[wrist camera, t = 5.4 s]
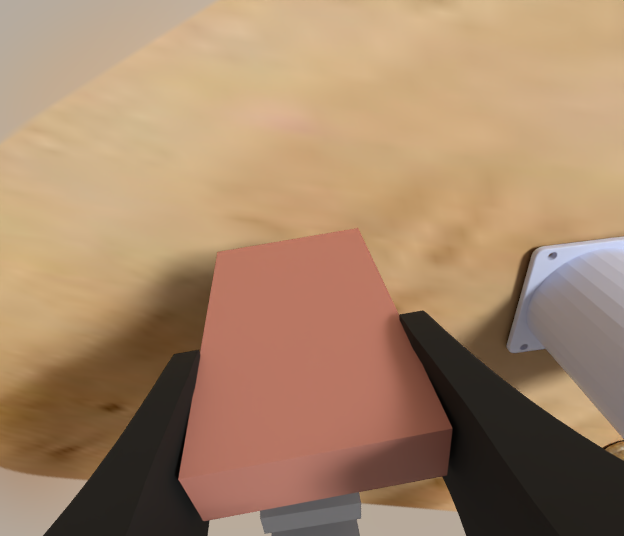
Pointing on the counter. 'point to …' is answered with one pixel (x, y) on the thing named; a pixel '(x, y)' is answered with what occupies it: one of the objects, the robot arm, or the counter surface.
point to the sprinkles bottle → (617, 450)
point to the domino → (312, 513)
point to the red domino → (306, 383)
